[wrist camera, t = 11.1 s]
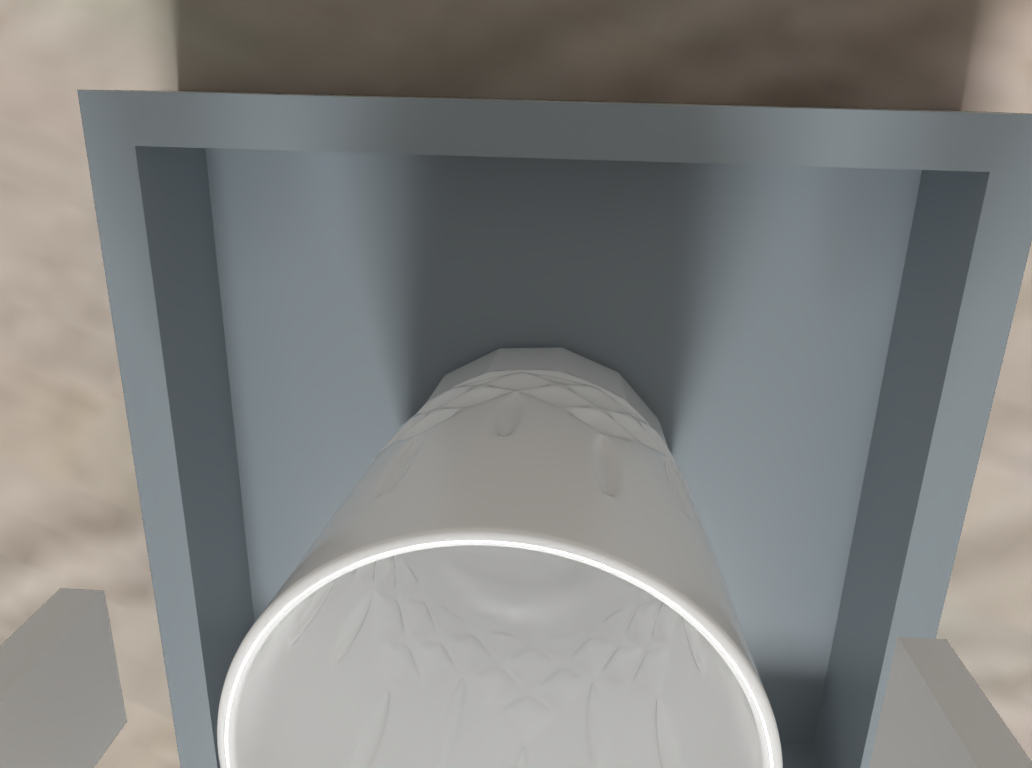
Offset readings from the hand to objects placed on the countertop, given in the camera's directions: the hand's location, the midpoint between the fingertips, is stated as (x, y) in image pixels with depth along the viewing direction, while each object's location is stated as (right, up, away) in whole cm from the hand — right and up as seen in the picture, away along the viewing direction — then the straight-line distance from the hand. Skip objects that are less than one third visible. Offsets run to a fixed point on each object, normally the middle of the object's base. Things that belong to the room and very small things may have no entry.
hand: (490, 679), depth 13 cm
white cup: (+1, +3, +7) cm, 8 cm away
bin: (+1, +3, +8) cm, 9 cm away
